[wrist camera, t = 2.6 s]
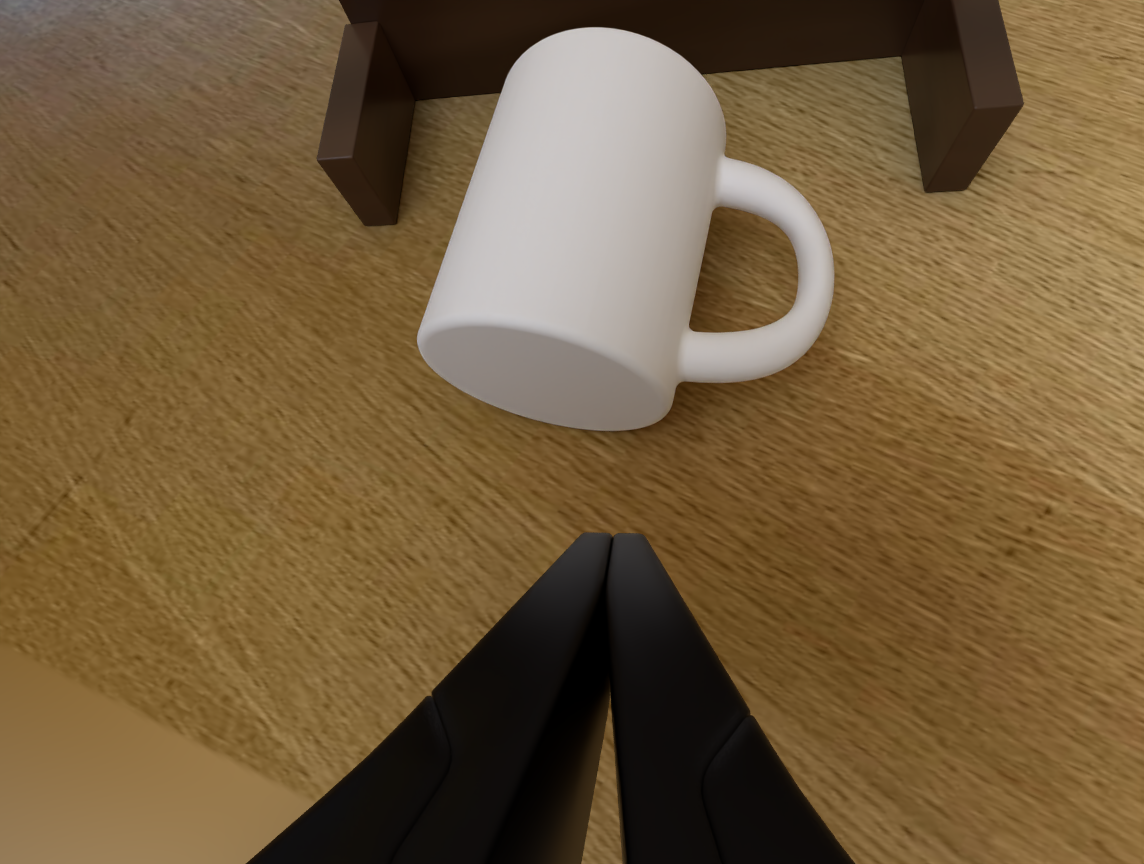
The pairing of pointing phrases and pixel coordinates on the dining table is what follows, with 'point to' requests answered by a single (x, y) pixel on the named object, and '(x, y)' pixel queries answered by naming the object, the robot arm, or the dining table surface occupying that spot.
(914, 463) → the dining table surface
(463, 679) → the robot arm
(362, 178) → the shelf
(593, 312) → the mug
